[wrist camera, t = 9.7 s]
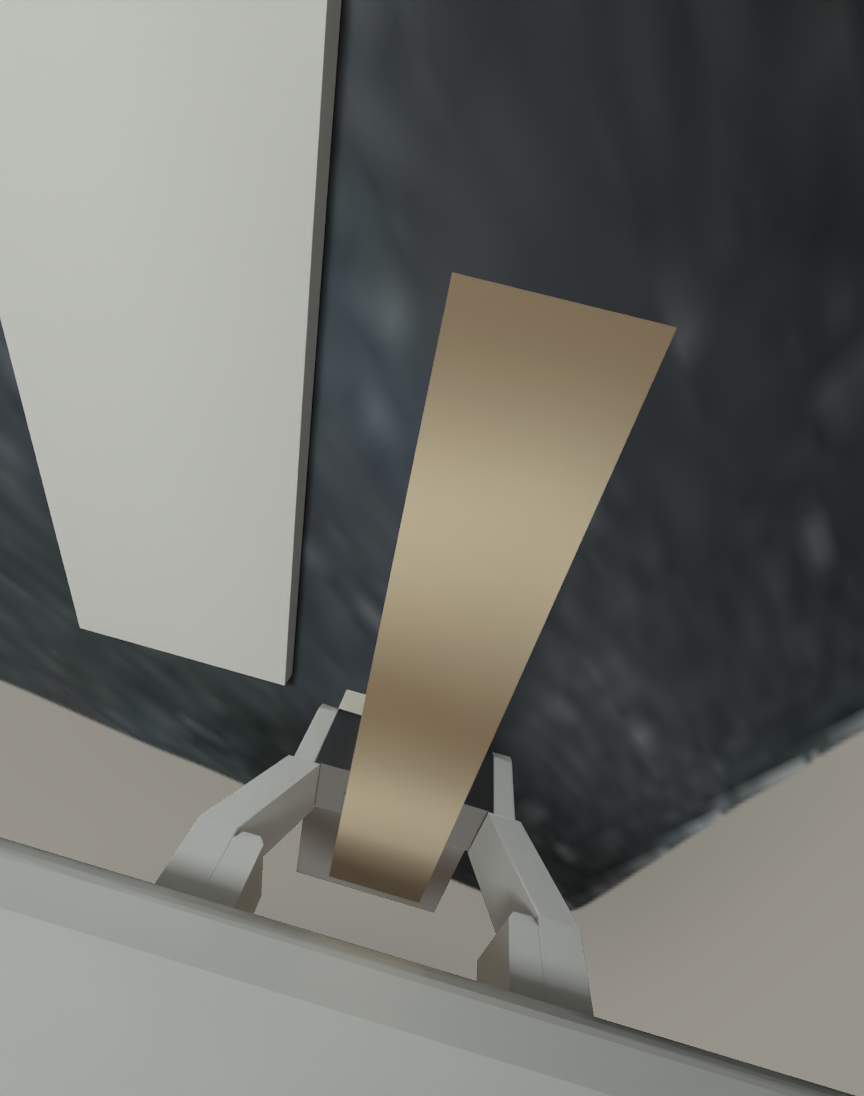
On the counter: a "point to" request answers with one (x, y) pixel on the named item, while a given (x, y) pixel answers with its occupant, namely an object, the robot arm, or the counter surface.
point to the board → (170, 303)
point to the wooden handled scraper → (478, 565)
